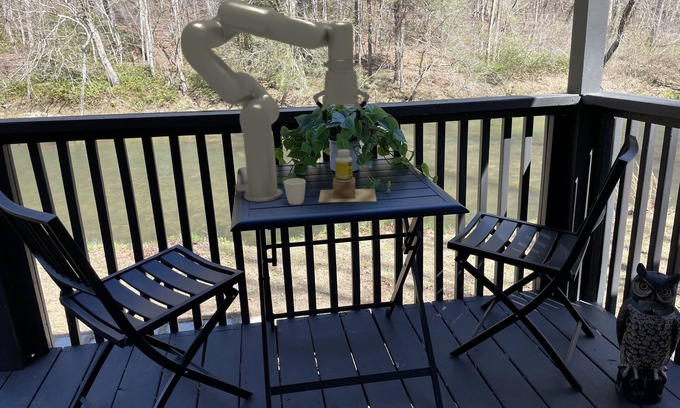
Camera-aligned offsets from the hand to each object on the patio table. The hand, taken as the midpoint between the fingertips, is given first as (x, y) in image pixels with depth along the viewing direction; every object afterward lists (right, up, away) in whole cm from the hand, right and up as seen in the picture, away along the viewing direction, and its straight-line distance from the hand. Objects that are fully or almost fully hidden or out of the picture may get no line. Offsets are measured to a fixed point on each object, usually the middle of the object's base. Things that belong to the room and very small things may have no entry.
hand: (341, 122), depth 162 cm
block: (+1, -22, +7) cm, 24 cm away
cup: (-14, -25, +4) cm, 29 cm away
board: (+2, -23, +8) cm, 25 cm away
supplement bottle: (+1, -18, +6) cm, 19 cm away
